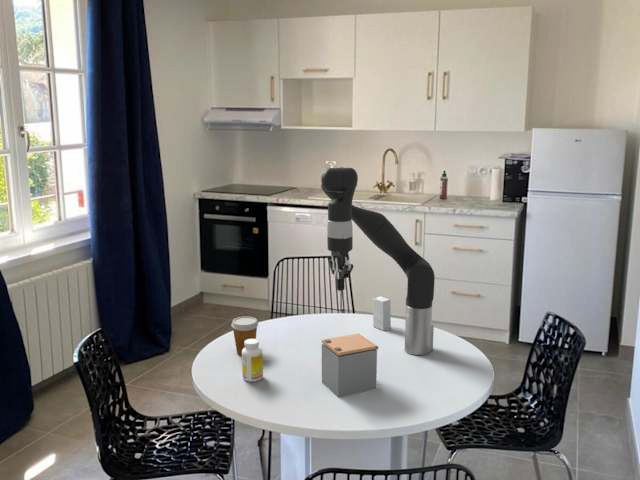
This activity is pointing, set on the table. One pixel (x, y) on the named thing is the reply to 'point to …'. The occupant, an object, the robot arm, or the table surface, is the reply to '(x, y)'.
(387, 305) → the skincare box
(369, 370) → the gray box
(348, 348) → the lid
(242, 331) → the disposable coffee cup
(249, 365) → the supplement bottle
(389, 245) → the robot arm
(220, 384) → the table surface
